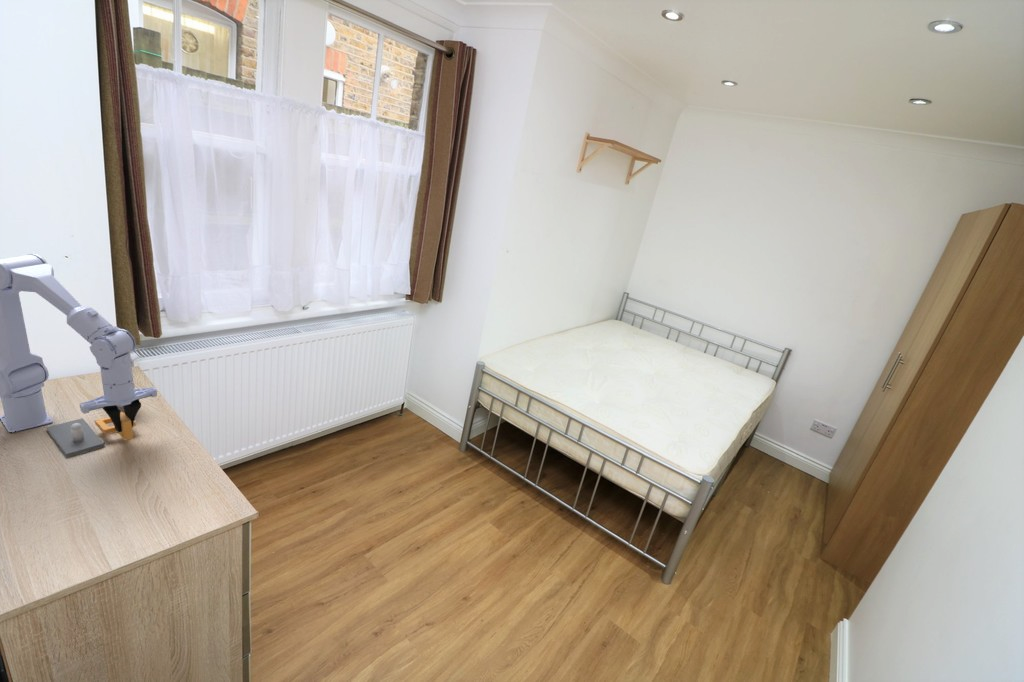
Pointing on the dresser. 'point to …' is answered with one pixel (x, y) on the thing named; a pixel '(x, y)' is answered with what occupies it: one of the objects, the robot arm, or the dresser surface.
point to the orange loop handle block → (125, 425)
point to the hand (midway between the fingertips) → (124, 428)
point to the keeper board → (67, 438)
